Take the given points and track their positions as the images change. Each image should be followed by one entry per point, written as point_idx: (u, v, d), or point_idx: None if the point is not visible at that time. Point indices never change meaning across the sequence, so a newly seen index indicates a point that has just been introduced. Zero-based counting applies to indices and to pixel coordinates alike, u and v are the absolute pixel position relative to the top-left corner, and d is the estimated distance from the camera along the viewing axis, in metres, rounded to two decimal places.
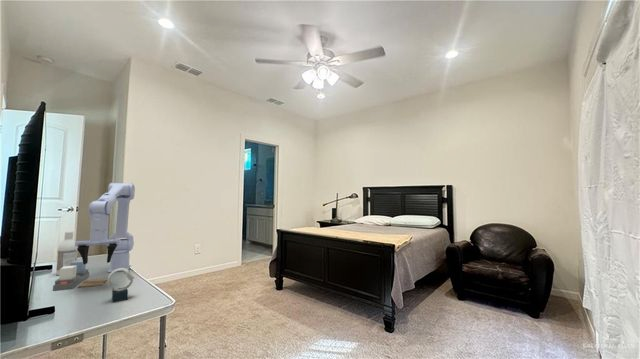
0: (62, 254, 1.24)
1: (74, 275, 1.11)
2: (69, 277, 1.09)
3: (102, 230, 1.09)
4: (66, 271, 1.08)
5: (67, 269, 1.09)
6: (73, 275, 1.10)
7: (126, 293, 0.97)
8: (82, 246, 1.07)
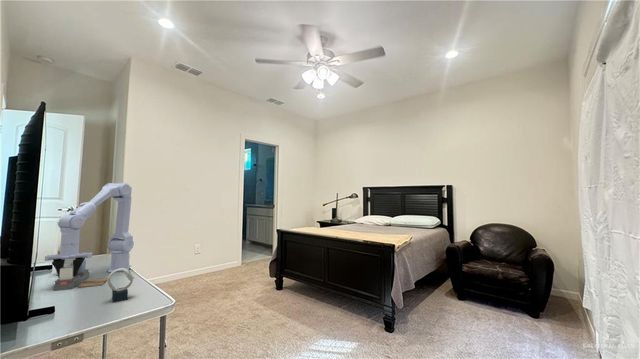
0: None
1: None
2: (69, 277, 1.09)
3: (72, 244, 1.09)
4: (66, 271, 1.08)
5: (67, 269, 1.09)
6: None
7: (126, 293, 0.97)
8: None
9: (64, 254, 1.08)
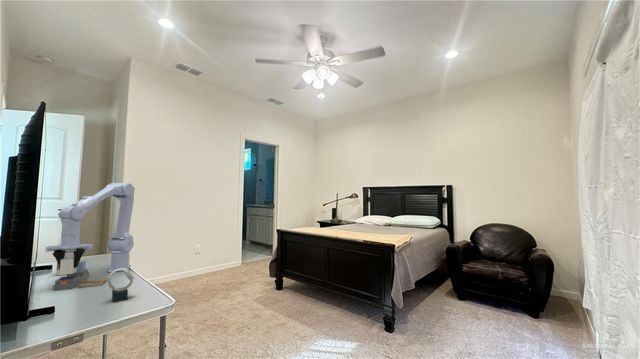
0: None
1: None
2: (70, 268, 1.09)
3: (73, 235, 1.10)
4: (67, 263, 1.09)
5: (68, 260, 1.09)
6: (73, 266, 1.10)
7: (126, 293, 0.97)
8: None
9: (65, 245, 1.08)
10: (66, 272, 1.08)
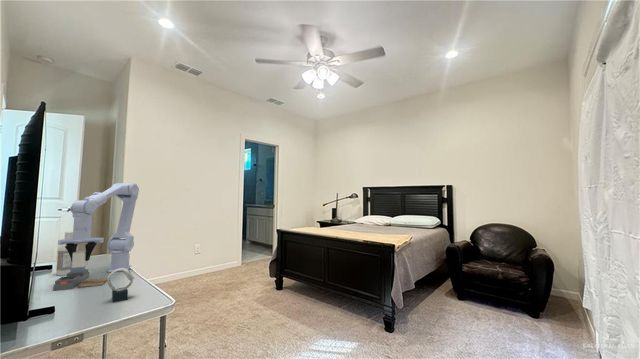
0: (62, 254, 1.24)
1: None
2: (82, 262, 1.11)
3: (85, 229, 1.12)
4: (79, 256, 1.11)
5: (79, 253, 1.11)
6: None
7: (126, 293, 0.97)
8: None
9: (77, 238, 1.10)
10: (78, 265, 1.10)
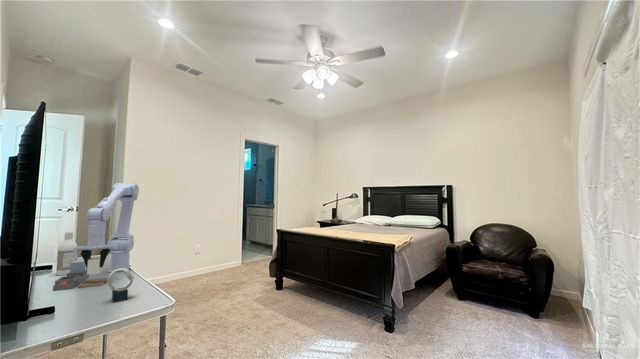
0: (61, 254, 1.24)
1: None
2: (97, 268, 1.13)
3: (99, 236, 1.14)
4: (94, 263, 1.13)
5: (94, 260, 1.13)
6: None
7: (126, 293, 0.97)
8: None
9: (92, 245, 1.12)
10: (93, 272, 1.13)
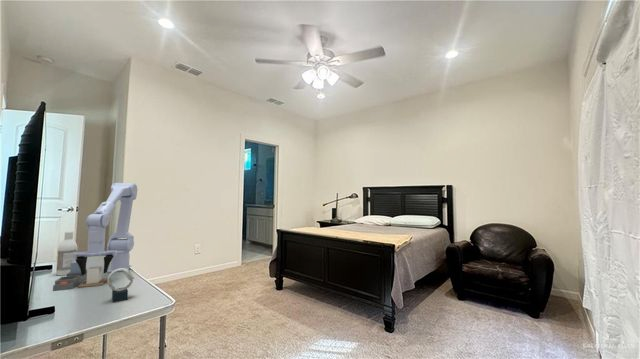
0: (61, 254, 1.24)
1: (100, 275, 1.16)
2: (96, 278, 1.13)
3: (99, 242, 1.14)
4: (93, 272, 1.13)
5: (94, 270, 1.13)
6: (99, 276, 1.14)
7: (126, 293, 0.97)
8: (80, 257, 1.12)
9: (91, 251, 1.12)
10: (92, 281, 1.13)
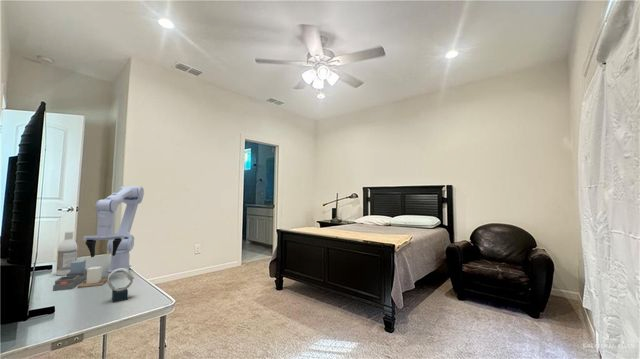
0: (62, 254, 1.24)
1: (100, 275, 1.16)
2: (96, 278, 1.13)
3: (108, 226, 1.19)
4: (93, 272, 1.13)
5: (94, 270, 1.13)
6: (99, 276, 1.14)
7: (126, 293, 0.97)
8: (90, 240, 1.17)
9: (101, 235, 1.18)
10: (92, 281, 1.13)
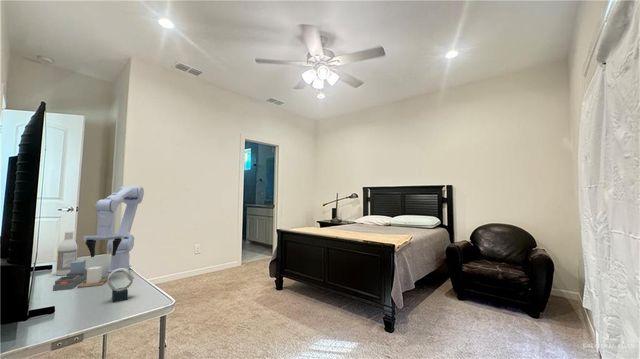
0: (61, 254, 1.24)
1: (100, 275, 1.16)
2: (96, 278, 1.13)
3: (108, 226, 1.19)
4: (93, 272, 1.13)
5: (94, 270, 1.13)
6: (99, 276, 1.14)
7: (126, 293, 0.97)
8: (90, 240, 1.17)
9: (101, 235, 1.18)
10: (92, 281, 1.13)
